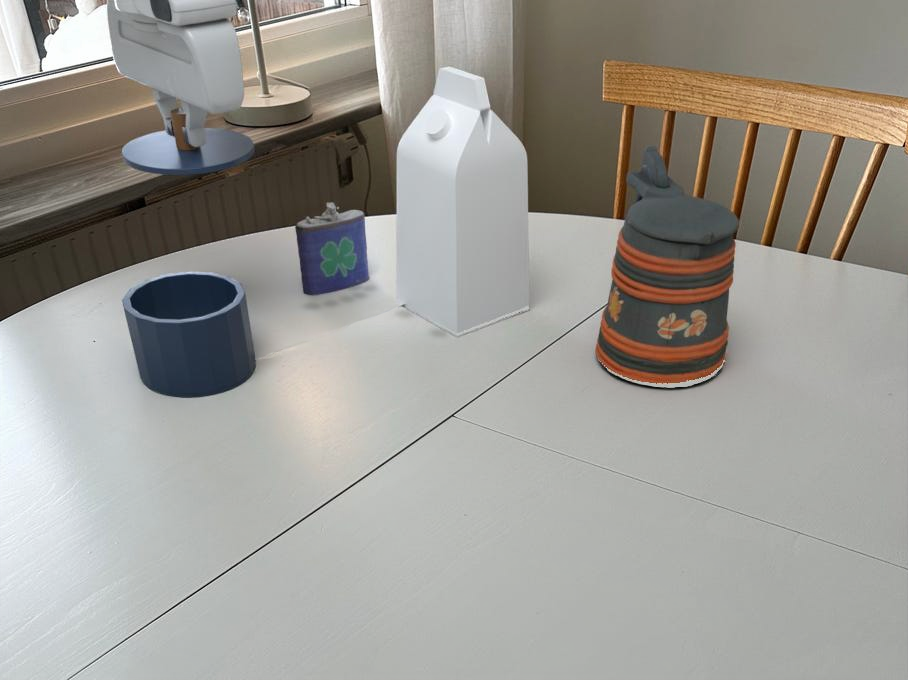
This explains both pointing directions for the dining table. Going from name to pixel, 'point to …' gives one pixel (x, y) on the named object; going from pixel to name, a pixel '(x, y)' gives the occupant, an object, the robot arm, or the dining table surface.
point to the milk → (461, 209)
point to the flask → (332, 251)
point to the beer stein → (668, 282)
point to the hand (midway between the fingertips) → (186, 140)
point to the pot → (190, 333)
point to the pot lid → (187, 150)
